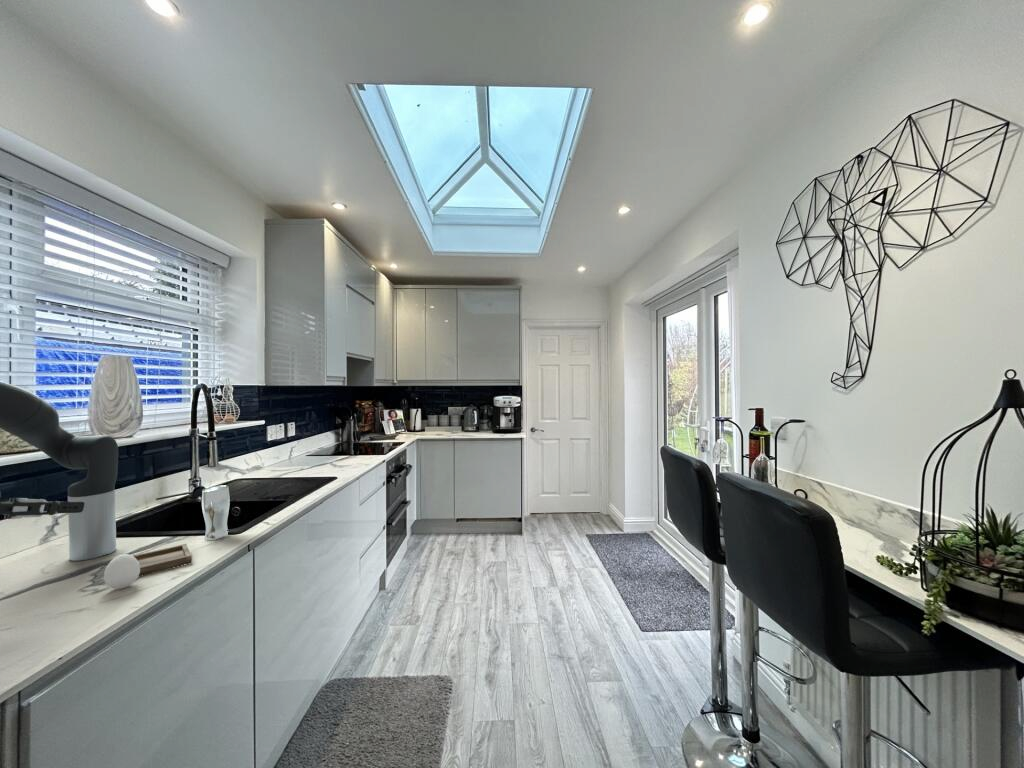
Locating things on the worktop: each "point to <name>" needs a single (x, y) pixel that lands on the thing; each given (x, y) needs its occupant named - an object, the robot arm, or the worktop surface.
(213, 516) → the beer glass
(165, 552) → the walnut tray
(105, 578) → the egg
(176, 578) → the worktop surface
